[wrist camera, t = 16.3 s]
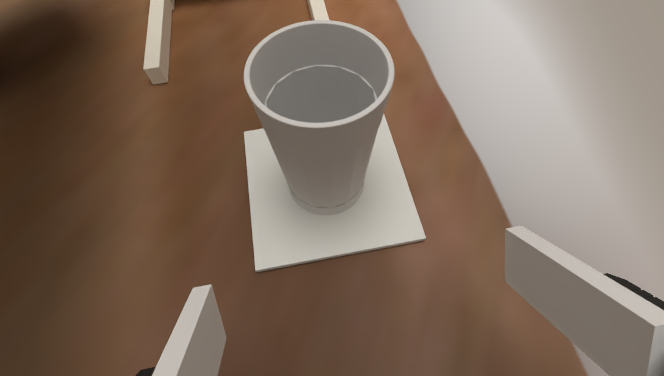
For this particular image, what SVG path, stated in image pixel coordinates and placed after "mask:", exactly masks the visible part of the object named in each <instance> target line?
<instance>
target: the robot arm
mask: <svg viewBox="0 0 664 376" xmlns="http://www.w3.org/2000/svg"><path fill="white" fill-rule="evenodd" d="M505 282H506V283H507V284H508V285H509V286H510V287H512V288H513V289H514V290H515V291H516V292H517V293H518V294H519V295H520V296H522V297H523V298H524V299H525V300H526V301H527V302H528V303H529V304H530V305H532V306H533V307H534V308H535V309H536V310H537V311H538V312H539V313H541V314H542V315H543V316H544V317H545V318H546V319H547V320H548V321H549V322H551V323H552V324H553V325H554V326H555V327H556V328H557V329H558V330H559V331H561V332H562V333H563V334H564V335H565V336H566V337H567V338H568V339H569V340H571V341H572V342H573V343H574V344H575V345H576V346H577V347H578V348H580V349H581V350H582V351H583V352H584V353H585V354H586V355H587V356H588V357H590V358H591V359H592V360H593V361H594V362H595V363H596V364H598V366H600V367H601V368H602V369H603V370H604V371H605V372H606V373H607V374H609V375H610V376H664V301H662V300H660V299H658V298H657V297H655V298H654V297H653V295H651V294H650V293H648V292H646V291H644V290H641V289H640V288H639V287H637V286H636V285H634V284H632V283H630V282H629V281H627V280H625V279H622V278H619V277H616V276H613V275H611V274H608V273H607V274H602V273H600V272H598V271H597V270H595V269H593V268H592V267H590V266H588V265H587V264H585V263H583V262H582V261H580V260H578V259H577V258H575V257H573V256H571V255H570V254H568V253H567V252H565V251H563V250H561V249H560V248H558V247H556V246H555V245H553V244H551V243H550V242H548V241H546V240H545V239H543V238H541V237H540V236H538V235H536V234H534V233H533V232H531V231H530V230H528V229H526V228H525V227H523V226H517V227H512V228H507V229H505ZM225 342H226V334H225V331H224V327H223V324H222V320H221V316H220V313H219V309H218V306H217V302H216V299H215V295H214V292H213V288H212V285H206V286H200V287H195V288H193V289H192V291H191V293H190V295H189V298H188V300H187V302H186V304H185V306H184V308H183V310H182V313H181V315H180V317H179V319H178V321H177V323H176V325H175V327H174V330H173V332H172V334H171V336H170V338H169V340H168V342H167V345H166V347H165V349H164V351H163V353H162V355H161V357H160V359H159V362H158V364H157V366H156V367H153V368H148V369H143V370H140V371H139V373H138V374H137V375H136V376H217V375H218V371H219V367H220V363H221V359H222V355H223V350H224V346H225Z"/></svg>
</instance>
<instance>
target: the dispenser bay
mask: <svg viewBox="0 0 664 376" xmlns="http://www.w3.org/2000/svg"><path fill="white" fill-rule="evenodd" d="M174 2H175V0H151V1H150V10H149V20H148V29H147V39H146V48H145V58H144V67H143V70H144V71H145V73H146V74H147V76H148V77H149V79H150V81H151V82H152V84H153V85H154V84H161V83H167V82H168V73H169V55H170V37H171V19H172V10H174ZM307 3H308V7H309V11H310V15H311V19H312V21H314V20H329V17H328V14H327V11H326V7H325V4H324V0H307Z"/></svg>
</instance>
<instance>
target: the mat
mask: <svg viewBox="0 0 664 376" xmlns="http://www.w3.org/2000/svg"><path fill="white" fill-rule="evenodd" d="M244 138H245V150H246V162H247V174H248V186H249V198H250V210H251V222H252V235H253V247H254V259H255V271H256V272H261V271H267V270H272V269H277V268H282V267H288V266H293V265H298V264H303V263H309V262H314V261H319V260H324V259H330V258H335V257H340V256H345V255H351V254H356V253H361V252H366V251H372V250H377V249H382V248H387V247H393V246H398V245H403V244H409V243H414V242H419V241H424V240H425V239H426V237H425V234H424V231H423V228H422V225H421V222H420V219H419V216H418V213H417V210H416V207H415V204H414V201H413V198H412V196H411V193H410V190H409V187H408V184H407V181H406V178H405V175H404V172H403V169H402V166H401V163H400V160H399V157H398V154H397V151H396V148H395V145H394V142H393V139H392V136H391V133H390V131H389V128H388V125H387V122H386V119H385V116H384V114H383V117H382V121H381V124H380V126H379V128H378V131H377V135H376V139H375V142H374V146H373V149H372V153H371V157H370V160H369V164H368V167H367V171H366V175H365V181H364V188H363V192H362V194H361V196H360V198H359V199H358V201H357V202H356V203H355V204H354V205H353V206H352V207H350V208H349V209H347V210H345V211H343V212H341V213H338V214H334V215H318V214H314V213H311V212H308V211H306V210H304V209H303V208H301V207H300V206H299V205H298V204H297V203H296V202H295V201H294V199H293V198H292V196H291V193H290V190H289V186H288V183H287V181H286V179H285V176H284V174H283V172H282V169H281V167H280V165H279V162H278V160H277V158H276V155H275V153H274V151H273V149H272V146H271V144H270V142H269V139H268V137H267V135H266V132H265V130H264V129H258V130H252V131H246V132H244Z"/></svg>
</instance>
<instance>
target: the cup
mask: <svg viewBox="0 0 664 376" xmlns="http://www.w3.org/2000/svg"><path fill="white" fill-rule="evenodd" d="M393 81H394V64H393V60H392V58H391V55H390V53H389V52H388V50H387V48H386V47H385V46H384V45H383V43H382V42H381V41H380V40H379V39H377V38H376V37H375V36H374V35H372V34H371V33H369V32H367V31H366V30H364V29H362V28H359V27H357V26H354V25H351V24H348V23H344V22H338V21H330V20H314V21H305V22H300V23H296V24H292V25H289V26H286V27H284V28H281V29H279V30H277V31H275V32H274V33H272V34H270V35H269V36H267V37H266V38H265V39H263V40H262V41H261V42H260V43H259V44H258V45H257V46H256V47H255V48H254V50H253V51H252V52H251V54H250V56H249V57H248V60H247V62H246V65H245V69H244V83H245V88H246V91H247V93H248V95H249V97H250V100H251V102H252V104H253V106H254V108H255V111H256V113H257V115H258V117H259V119H260V121H261V124H262V126H263V128H264V130H265V132H266V135H267V137H268V139H269V142H270V144H271V146H272V149H273V151H274V153H275V155H276V158H277V160H278V162H279V165H280V167H281V169H282V172H283V174H284V176H285V179H286V181H287V183H288V186H289V190H290V193H291V196H292V198H293V199H294V201H295V202H296V203H297V204H298V205H299V206H300V207H301V208H303V209H304V210H306V211H308V212H311V213H314V214H318V215H334V214H338V213H341V212H343V211H345V210H347V209H349V208H350V207H352V206H353V205H354V204H355V203H356V202H357V201H358V199H359V198H360V196H361V194H362V192H363V188H364V181H365V175H366V171H367V167H368V164H369V160H370V157H371V153H372V149H373V146H374V142H375V139H376V135H377V131H378V128H379V126H380V124H381V121H382V117H383V114H384V111H385V107H386V104H387V101H388V98H389V94H390V91H391V88H392V84H393Z"/></svg>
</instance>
